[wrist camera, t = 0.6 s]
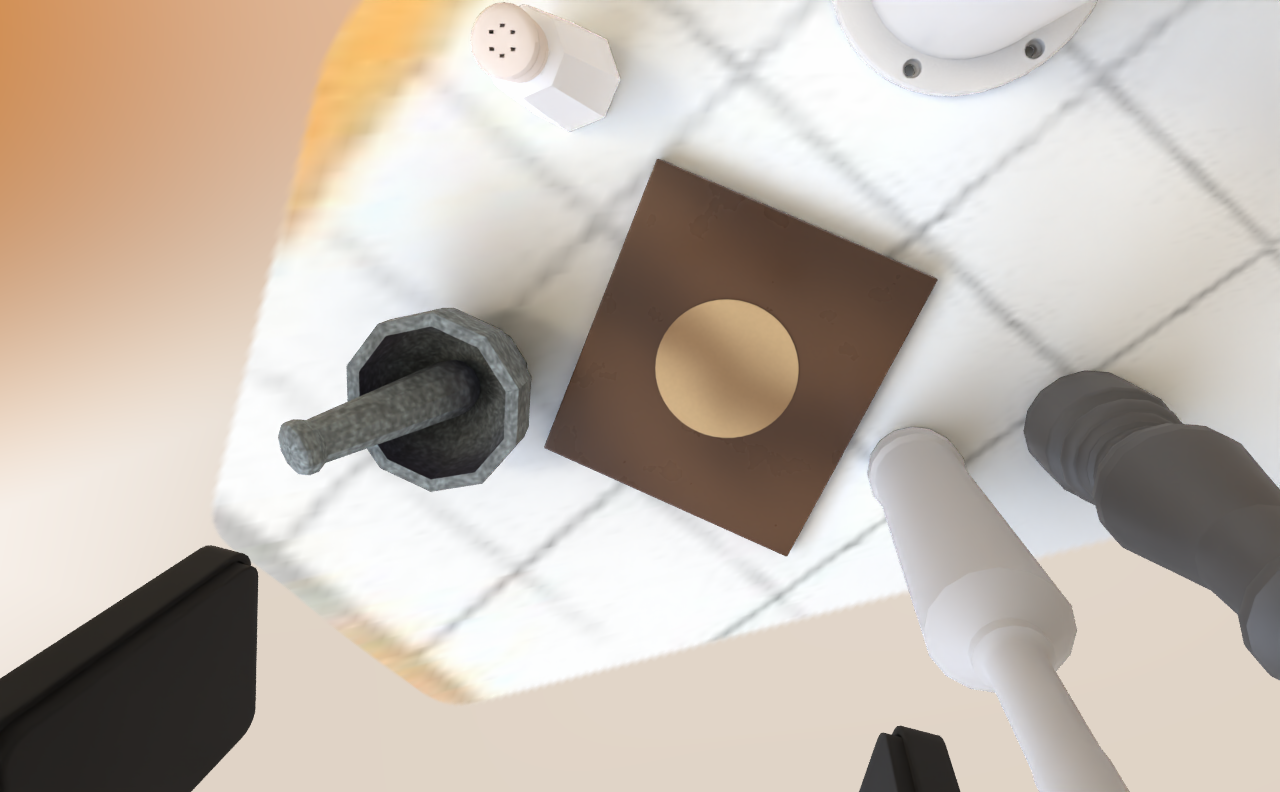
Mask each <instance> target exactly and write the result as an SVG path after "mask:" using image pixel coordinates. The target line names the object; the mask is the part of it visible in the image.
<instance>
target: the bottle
mask: <svg viewBox="0 0 1280 792" xmlns="http://www.w3.org/2000/svg"><path fill="white" fill-rule="evenodd" d="M868 478H869V482H870V486H871V489H872V493H873V496H874V497H875V499H876V500H877V501H878V502H879V504H880V505H881V506H882V507H883V510H884V514H885V517H886V520H887V523H888V526H889V529H890V533H891V536H892V539H893V542H894V545H895V548H896V552H897V555H898V558H899V561H900V564H901V567H902V571H903V574H904V577H905V580H906V583H907V586H908V590H909V593H910V596H911V599H912V602H913V605H914V608H915V611H916V615H917V618H918V621H919V624H920V628H921V631H922V634H923V637H924V640H925V643H926V647H927V650H928V652H929V656H930V657H931V659H932V660H933V661H934V662H935V663H936V664H937V666H938V667H939V668H940V669H941V670H942V672H943V673H944V674H945V675H946V676H947V677H949V678H951V679H953V680H955V681H957V682H959V683H961V684H962V685H964V686H966V687H968V688H970V689H976V690H982V691H989V692H994V693H996V695H997V697H998V699H999V701H1000V703H1001V705H1002V707H1003V710H1004V712H1005V714H1006V716H1007V718H1008V720H1009V722H1010V725H1011V727H1012V729H1013V731H1014V733H1015V736H1016V738H1017V740H1018V742H1019V744H1020V746H1021V748H1022V751H1023V753H1024V755H1025V757H1026V759H1027V762H1028V764H1029V766H1030V768H1031V770H1032V774H1033V777H1034V782H1035V784H1036V786H1037V788H1038V791H1039V792H1129V790H1128V788H1127V787H1126V785H1125V784H1124V782H1123V780H1122V778H1121V777H1120V775H1119V774H1118V772H1117V770H1116V768H1115V767H1114V765H1113V764H1112V762H1111V760H1110V759H1109V758H1108V756H1107V755H1106V754H1105V753H1104V752H1103V750H1102V749H1101V748H1100V746H1099V744H1098V742H1097V741H1096V739H1095V737H1094V736H1093V734H1092V732H1091V731H1090V729H1089V727H1088V726H1087V724H1086V722H1085V721H1084V719H1083V717H1082V716H1081V714H1080V712H1079V710H1078V709H1077V707H1076V705H1075V704H1074V702H1073V700H1072V699H1071V697H1070V695H1069V694H1068V692H1067V690H1066V688H1065V687H1064V685H1063V683H1062V682H1061V680H1060V678H1059V677H1058V675H1057V673H1056V671H1057V670H1058V668H1059V667H1060V666H1061V665H1062V664H1063V663H1064V662H1065V660H1066V659H1067V658H1068V657H1069V656H1070V654H1071V650H1072V647H1073V643H1074V639H1075V636H1076V632H1077V628H1076V624H1075V619H1074V615H1073V610H1072V606H1071V604H1070V603H1069V602H1068V600H1067V599H1066V598H1065V597H1064V595H1063V594H1062V593H1061V591H1060V590H1059V589H1058V588H1057V586H1056V585H1055V584H1054V583H1053V581H1052V580H1051V579H1050V577H1049V576H1048V575H1047V573H1046V572H1045V571H1044V570H1043V568H1042V567H1041V566H1040V564H1039V563H1038V562H1037V561H1036V559H1035V558H1034V557H1033V555H1032V554H1031V553H1030V552H1029V550H1028V549H1027V548H1026V546H1025V545H1024V544H1023V543H1022V541H1021V540H1020V539H1019V538H1018V536H1017V535H1016V534H1015V532H1014V531H1013V530H1012V529H1011V527H1010V526H1009V525H1008V523H1007V522H1006V521H1005V520H1004V518H1003V517H1002V516H1001V514H1000V513H999V512H998V511H997V509H996V508H995V507H994V505H993V504H992V503H991V502H990V500H989V499H988V498H987V496H986V495H985V494H984V493H983V491H982V490H981V489H980V487H979V486H978V485H977V484H976V482H975V481H974V480H973V478H972V477H971V476H970V475H969V473H968V472H967V470H966V466H965V462H964V458H963V457H962V455H961V454H960V453H959V452H958V450H957V449H956V448H955V447H954V445H953V444H952V443H951V442H950V441H949V440H948V439H947V438H946V437H944V436H942V435H940V434H938V433H936V432H934V431H932V430H930V429H925V428H916V427H908V428H904V429H900V430H896V431H893V432H892V433H890V434H889V435H887V436H886V437H884V438H883V439H882V440H880V441H879V443H878V444H877V446H876V447H875V449H874V450H873V452H872V453H871V455H870V461H869V467H868Z"/></svg>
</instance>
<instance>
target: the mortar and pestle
mask: <svg viewBox="0 0 1280 792" xmlns="http://www.w3.org/2000/svg"><path fill="white" fill-rule="evenodd" d="M530 387H531V375H530V374H529V372H528V370H527V363H526V361H525V360H524V358H523V357H522V355H521V353H520V352H519V350H518V348H517V347H516V345H515V344H514V342H513V340H512V339H511V337H510V336H508V335H506V334H505V333H504V332H503V330H501V329H499V328H497V327H494V326H492V325H490V324H488V323H486V322H483V321H481V320H479V319H477V318H475V317H473V316H470V315H468V314H466V313H464V312H462V311H460V310H457V309H455V308H441V309H436V310H432V311H427V312H422V313H418V314H413V315H409V316H404V317H399V318H395V319H390V320H387V321H385V322H382V323H379V324H378V325H377V326H376V327H375V329H374V330H373V331H372V333H371V334H370V335H369V337H368V338H367V339H366V341H365V342H364V343H363V345H362V346H361V347H360V349H359V350H358V351H357V353H356V354H355V356H354V357H353V358H352V360H351V361H350V362H349V364H348V365H347V395H348V402H346V403H344V404H342V405H339V406H337V407H335V408H333V409H330V410H328V411H326V412H324V413H321V414H319V415H317V416H315V417H312V418H310V419H308V420H290V421H288V422H285V423H283V424H282V425H281V428H280V432H279V437H278V438H279V443H280V448H281V451H282V453H283V455H284V457H285V459H286V461H287V463H288V464H289V465H290V466H291V467H292V468H293V469H294V470H295V471H296V472H297V473H298V474H303V475H311V474H314V473H316V472H319V471H320V469H321V468H322V467H323V465H324V464H325V463H326V462H329V461H332V460H335V459H338V458H341V457H343V456H346V455H349V454H352V453H355V452H358V451H361V450H363V449H366V448H367V449H368V451H369V452H370V454H371V455H372V457H373V458H374V460H375V461H376V463H377V464H378V466H379V467H380V468H381V469H383V470H385V471H388V472H390V473H392V474H394V475H396V476H398V477H400V478H402V479H405V480H407V481H409V482H411V483H413V484H415V485H417V486H420V487H422V488H424V489H426V490H428V491H430V492H432V491H438V490H445V489H451V488H457V487H464V486H470V485H476V484H482V483H483V482H484V481H485V480H486V479H487V478H488V477H489V476H490V475H491V474H492V472H493V471H494V470H495V469H496V468H497V467H498V466H499V465H500V463H501V462H502V461H503V460H504V459H505V458H506V457H507V455H508V454H509V453H510V452H511V451H512V450H513V449H514V448H515V446H516V445H517V444H518V443H519V442H520V441H521V440H522V439H523V437H524V436H525V433H526V431H527V429H528V426H529V408H530Z"/></svg>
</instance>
